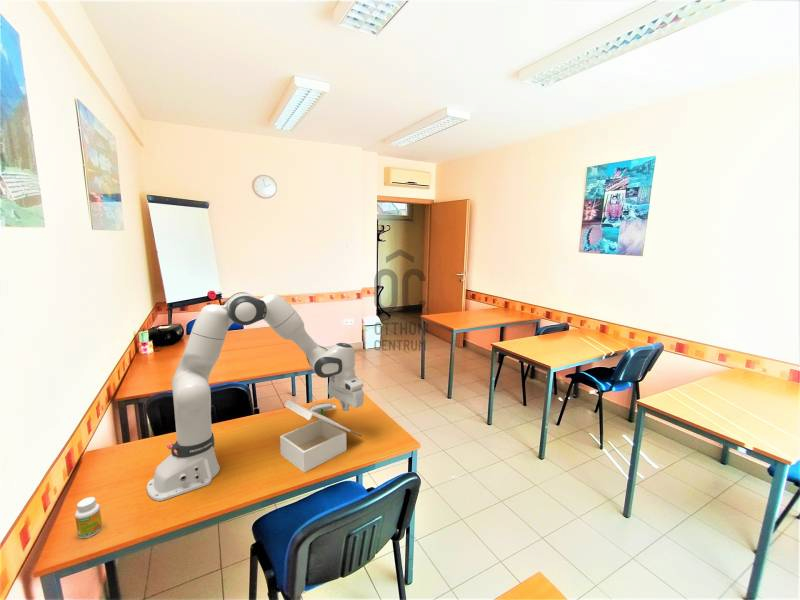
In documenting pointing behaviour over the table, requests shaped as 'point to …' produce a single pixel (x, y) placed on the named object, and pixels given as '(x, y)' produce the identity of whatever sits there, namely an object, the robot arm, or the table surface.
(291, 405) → the lid
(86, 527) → the supplement bottle
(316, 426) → the box
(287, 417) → the table surface
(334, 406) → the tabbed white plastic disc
